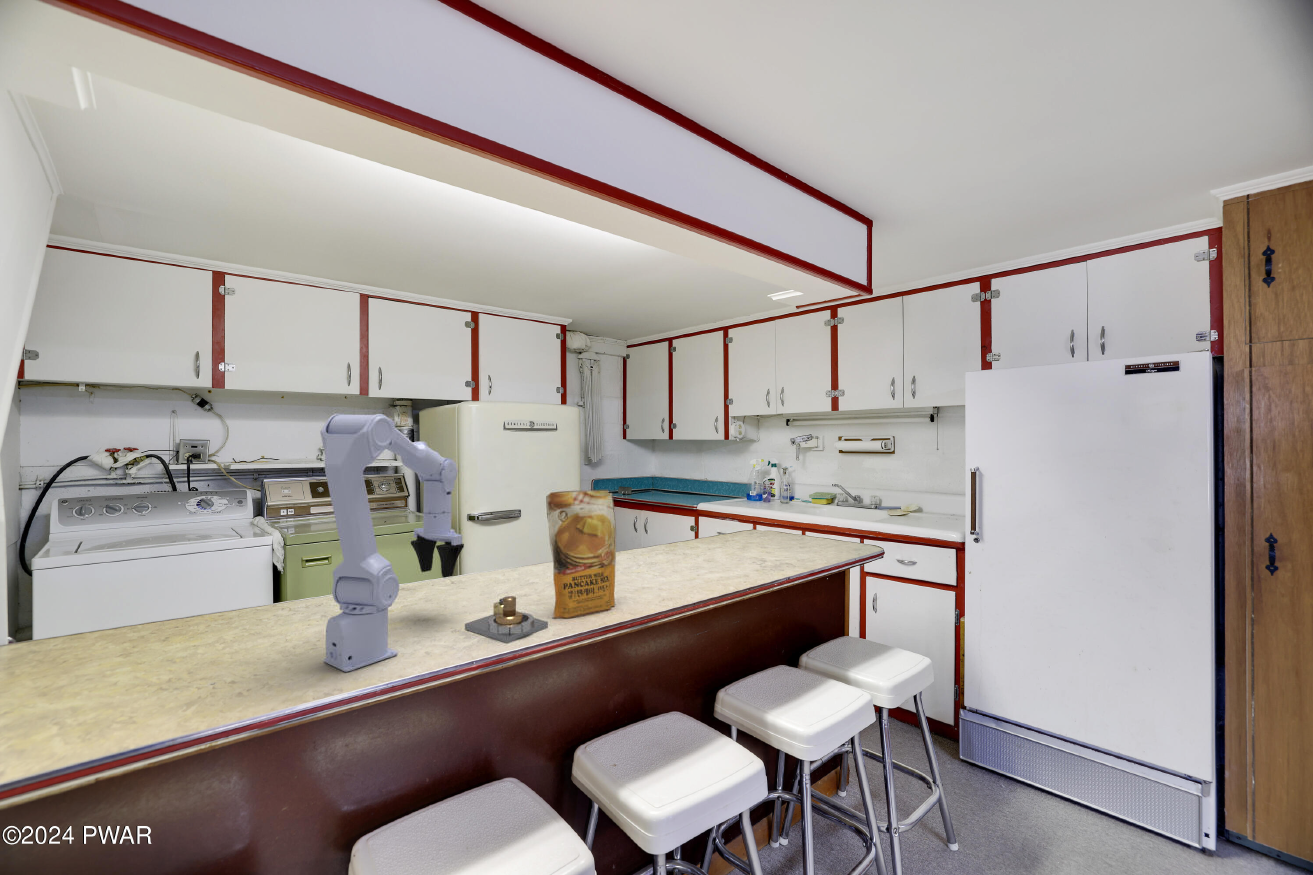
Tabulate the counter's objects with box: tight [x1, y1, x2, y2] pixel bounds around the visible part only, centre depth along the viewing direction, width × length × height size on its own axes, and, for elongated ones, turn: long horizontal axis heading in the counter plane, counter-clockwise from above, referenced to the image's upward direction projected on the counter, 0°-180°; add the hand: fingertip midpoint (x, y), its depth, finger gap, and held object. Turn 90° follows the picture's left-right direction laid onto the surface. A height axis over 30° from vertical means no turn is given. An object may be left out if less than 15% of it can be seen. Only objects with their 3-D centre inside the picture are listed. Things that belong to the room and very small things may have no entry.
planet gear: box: [496, 595, 522, 625], centre depth 113 cm, size 5×5×6 cm
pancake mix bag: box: [545, 489, 617, 619], centre depth 128 cm, size 7×19×28 cm, turn 126°
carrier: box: [464, 597, 549, 644], centre depth 116 cm, size 11×14×5 cm
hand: (436, 573), depth 121 cm, fingers open, 7 cm apart
